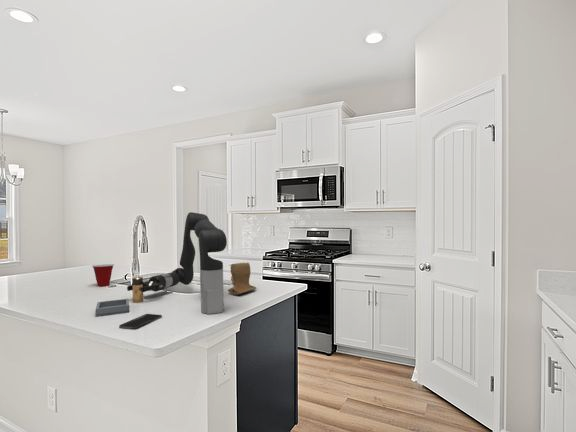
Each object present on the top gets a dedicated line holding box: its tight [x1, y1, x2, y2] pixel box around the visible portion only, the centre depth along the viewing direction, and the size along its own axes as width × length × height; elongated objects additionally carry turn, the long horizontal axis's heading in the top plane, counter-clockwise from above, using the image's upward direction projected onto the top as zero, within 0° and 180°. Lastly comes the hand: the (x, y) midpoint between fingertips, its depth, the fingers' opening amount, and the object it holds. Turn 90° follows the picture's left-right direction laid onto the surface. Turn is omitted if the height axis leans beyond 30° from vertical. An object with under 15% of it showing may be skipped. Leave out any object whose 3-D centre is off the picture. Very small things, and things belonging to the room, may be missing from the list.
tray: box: [95, 298, 130, 318], centre depth 145 cm, size 12×12×3 cm
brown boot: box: [227, 262, 257, 296], centre depth 174 cm, size 15×12×15 cm
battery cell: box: [131, 275, 144, 304], centre depth 159 cm, size 4×4×12 cm
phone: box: [118, 313, 163, 331], centre depth 129 cm, size 8×1×15 cm
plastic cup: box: [92, 263, 115, 288], centre depth 195 cm, size 11×11×12 cm
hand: (134, 289), depth 157 cm, fingers open, 8 cm apart
